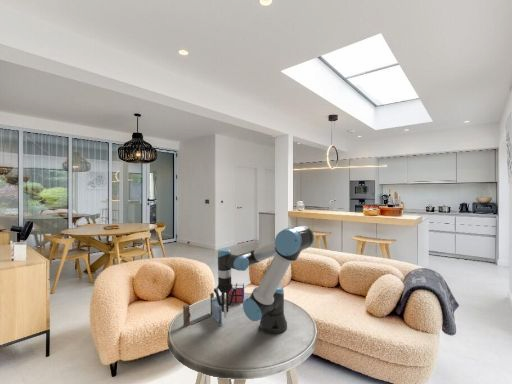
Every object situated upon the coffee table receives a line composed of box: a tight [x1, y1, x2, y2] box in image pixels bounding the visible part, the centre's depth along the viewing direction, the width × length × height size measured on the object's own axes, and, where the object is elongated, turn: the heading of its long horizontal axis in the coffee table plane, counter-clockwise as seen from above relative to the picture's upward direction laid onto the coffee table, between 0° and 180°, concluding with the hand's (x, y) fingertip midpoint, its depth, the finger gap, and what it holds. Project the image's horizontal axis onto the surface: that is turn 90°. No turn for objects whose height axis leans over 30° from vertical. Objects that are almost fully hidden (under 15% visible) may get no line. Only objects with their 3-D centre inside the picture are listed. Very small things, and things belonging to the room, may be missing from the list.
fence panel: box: [214, 293, 226, 307], centre depth 176 cm, size 2×8×12 cm, turn 138°
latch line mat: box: [190, 312, 213, 326], centre depth 165 cm, size 4×15×1 cm, turn 138°
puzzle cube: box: [228, 282, 245, 303], centre depth 193 cm, size 10×10×10 cm
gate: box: [212, 297, 223, 325], centre depth 163 cm, size 14×2×10 cm, turn 24°
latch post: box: [182, 303, 191, 328], centre depth 158 cm, size 3×3×12 cm
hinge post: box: [209, 292, 215, 316], centre depth 172 cm, size 2×2×13 cm
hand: (225, 316), depth 161 cm, fingers closed
